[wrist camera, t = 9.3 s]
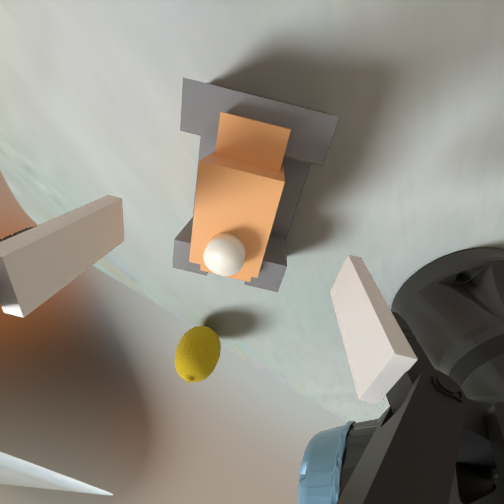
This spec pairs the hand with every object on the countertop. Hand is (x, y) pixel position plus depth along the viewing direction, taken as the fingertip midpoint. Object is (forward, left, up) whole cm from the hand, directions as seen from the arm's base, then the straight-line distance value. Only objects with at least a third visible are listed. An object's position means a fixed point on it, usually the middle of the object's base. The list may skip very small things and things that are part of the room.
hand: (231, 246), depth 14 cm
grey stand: (0, 0, -12) cm, 12 cm away
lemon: (+2, +21, -12) cm, 24 cm away
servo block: (0, 0, -11) cm, 11 cm away
